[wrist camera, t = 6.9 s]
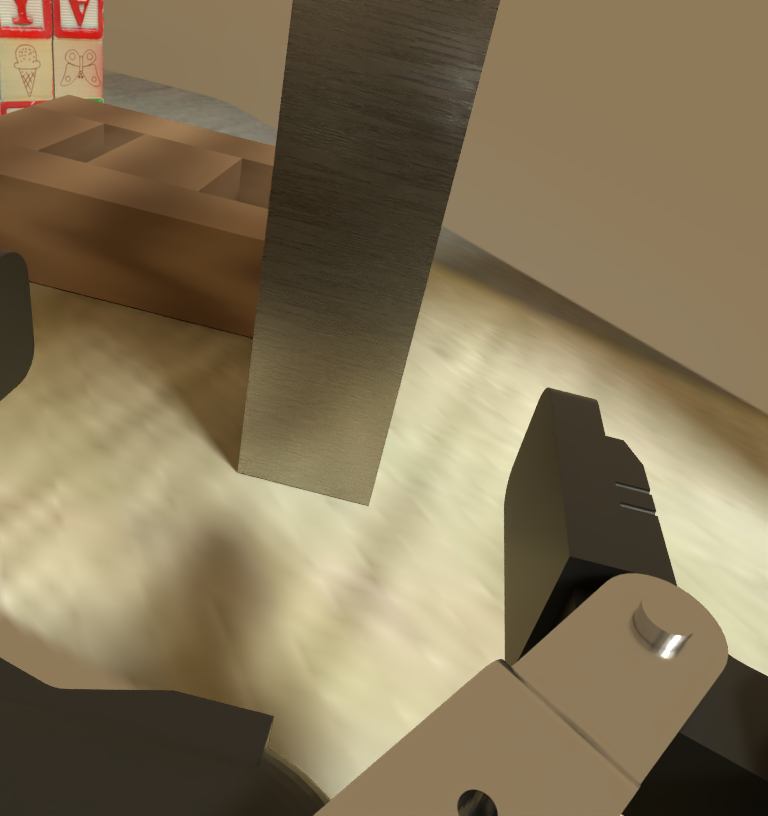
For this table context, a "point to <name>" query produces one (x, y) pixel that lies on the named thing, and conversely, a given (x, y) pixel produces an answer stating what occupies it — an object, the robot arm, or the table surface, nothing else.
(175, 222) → the plate
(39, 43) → the stack of blocks
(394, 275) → the square bar
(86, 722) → the robot arm
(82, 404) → the table surface
